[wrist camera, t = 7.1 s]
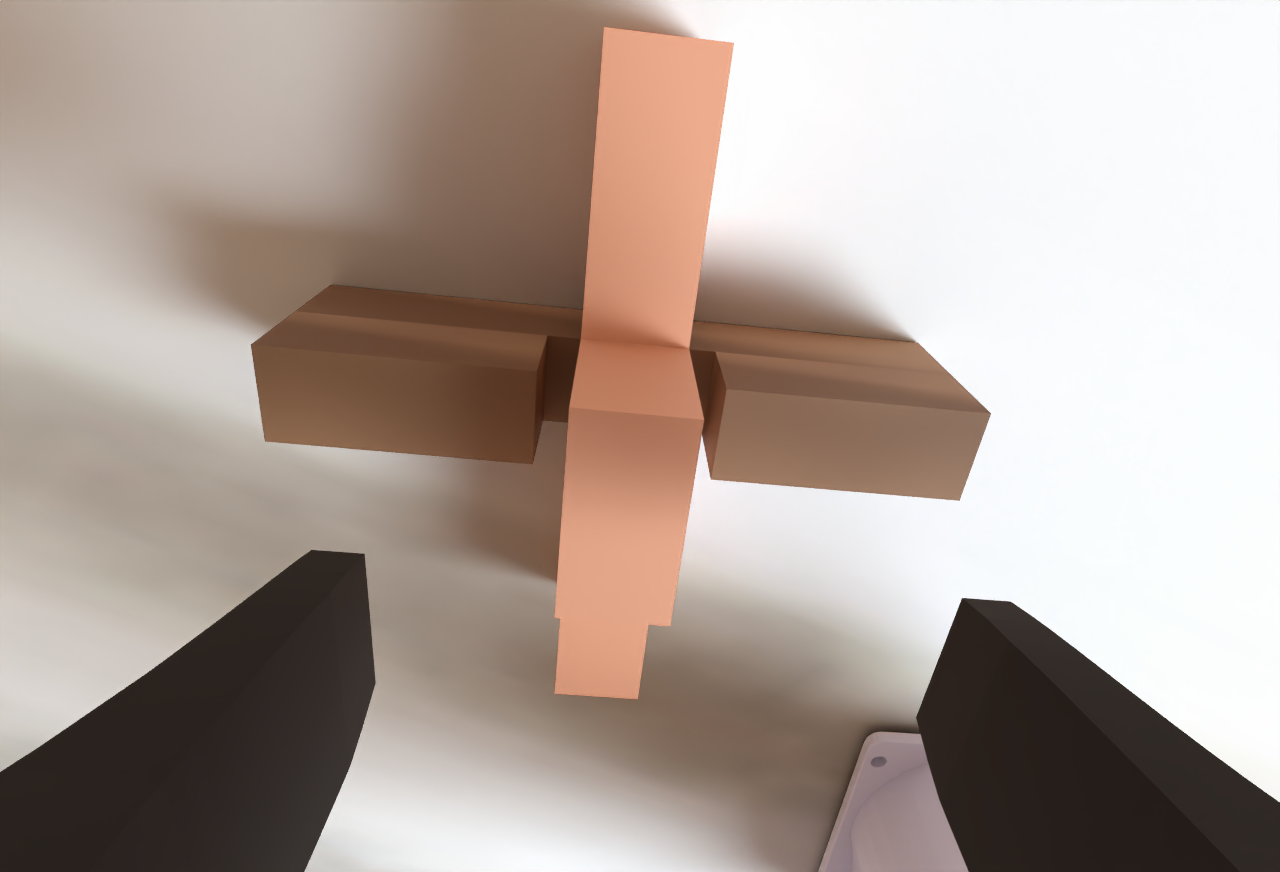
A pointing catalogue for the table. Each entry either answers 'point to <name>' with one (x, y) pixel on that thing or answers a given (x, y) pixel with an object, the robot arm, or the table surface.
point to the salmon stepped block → (637, 355)
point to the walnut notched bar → (543, 380)
